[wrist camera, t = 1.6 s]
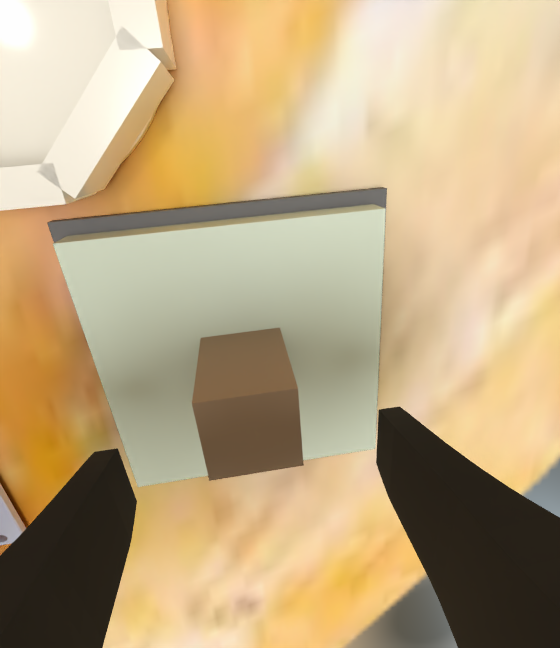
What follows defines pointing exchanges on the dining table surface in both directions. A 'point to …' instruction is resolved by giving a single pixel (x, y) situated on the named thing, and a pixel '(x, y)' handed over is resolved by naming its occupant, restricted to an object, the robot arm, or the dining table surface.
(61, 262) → the lid
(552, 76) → the dining table surface
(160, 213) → the mat
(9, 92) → the dish
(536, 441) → the dining table surface
